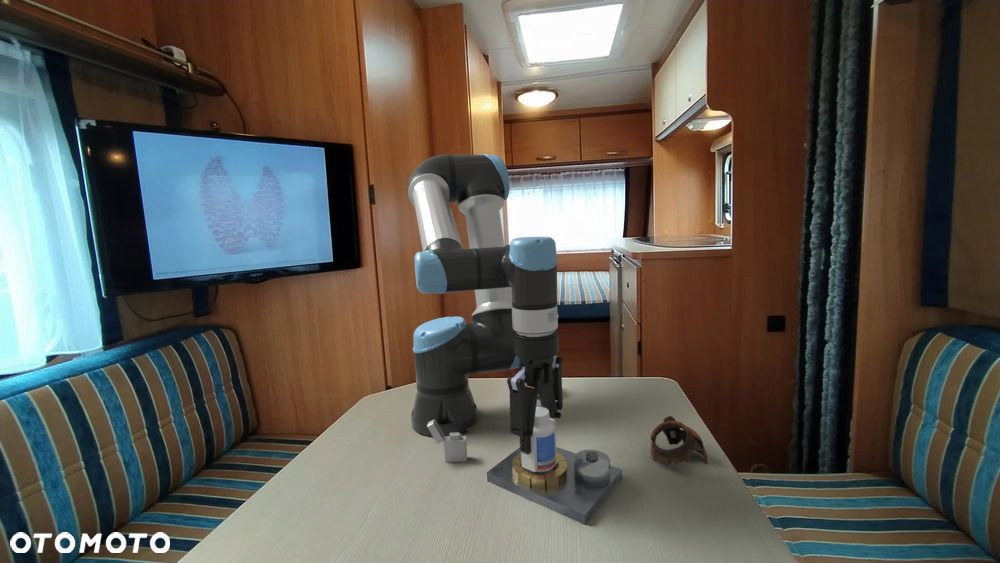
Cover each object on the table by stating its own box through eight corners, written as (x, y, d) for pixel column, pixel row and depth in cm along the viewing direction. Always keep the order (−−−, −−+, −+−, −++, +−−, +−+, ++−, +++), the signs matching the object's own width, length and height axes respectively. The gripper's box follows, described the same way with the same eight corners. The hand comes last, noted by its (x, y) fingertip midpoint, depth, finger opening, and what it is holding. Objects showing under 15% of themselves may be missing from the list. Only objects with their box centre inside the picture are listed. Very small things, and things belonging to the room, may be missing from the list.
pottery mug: (721, 475, 75) (705, 444, 73) (669, 494, 77) (652, 464, 75) (693, 426, 86) (679, 398, 84) (649, 444, 88) (633, 416, 86)
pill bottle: (559, 459, 76) (558, 407, 75) (548, 476, 72) (547, 421, 70) (531, 452, 79) (529, 402, 77) (518, 468, 74) (516, 415, 73)
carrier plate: (487, 480, 76) (485, 452, 75) (531, 445, 87) (530, 420, 86) (585, 524, 64) (584, 491, 64) (622, 477, 75) (622, 449, 74)
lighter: (467, 456, 84) (465, 418, 83) (466, 461, 82) (464, 422, 81) (431, 457, 84) (428, 418, 83) (429, 462, 82) (426, 423, 81)
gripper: (522, 349, 62) (527, 496, 66) (581, 321, 76) (583, 443, 80) (482, 341, 67) (489, 479, 70) (545, 316, 81) (548, 431, 85)
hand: (539, 459), depth 75 cm, fingers closed on pill bottle, 5 cm apart
